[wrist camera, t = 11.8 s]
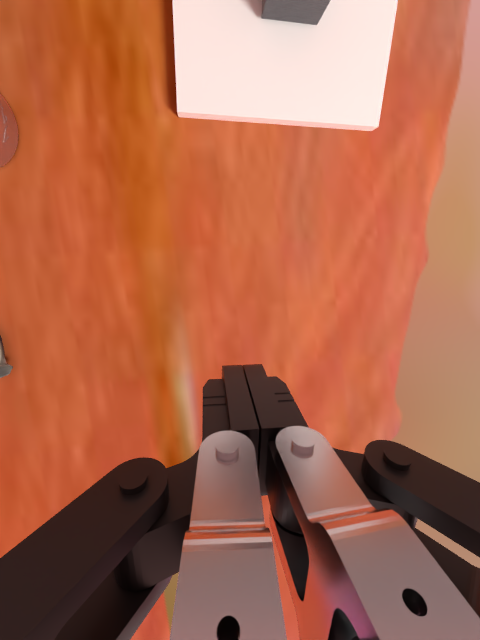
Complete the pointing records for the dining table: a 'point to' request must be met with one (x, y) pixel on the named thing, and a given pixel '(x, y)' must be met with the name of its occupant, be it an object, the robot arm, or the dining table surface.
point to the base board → (282, 63)
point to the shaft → (294, 10)
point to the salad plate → (3, 362)
